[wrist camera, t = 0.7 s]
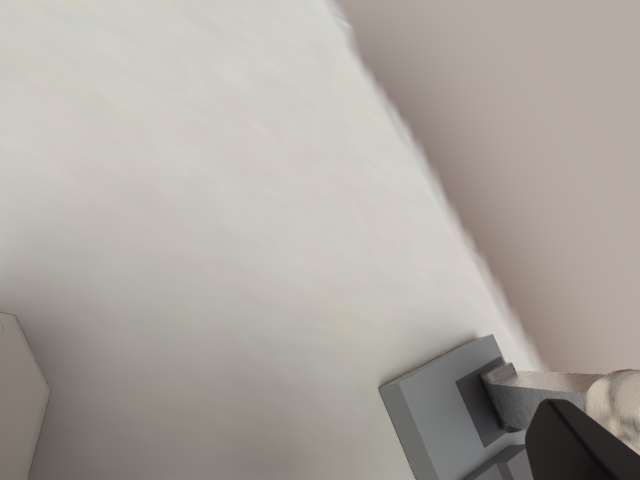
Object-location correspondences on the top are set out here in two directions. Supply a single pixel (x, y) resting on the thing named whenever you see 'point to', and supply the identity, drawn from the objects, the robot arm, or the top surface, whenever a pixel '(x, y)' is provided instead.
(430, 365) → the panel
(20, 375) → the flask
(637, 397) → the lever
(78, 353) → the top surface
